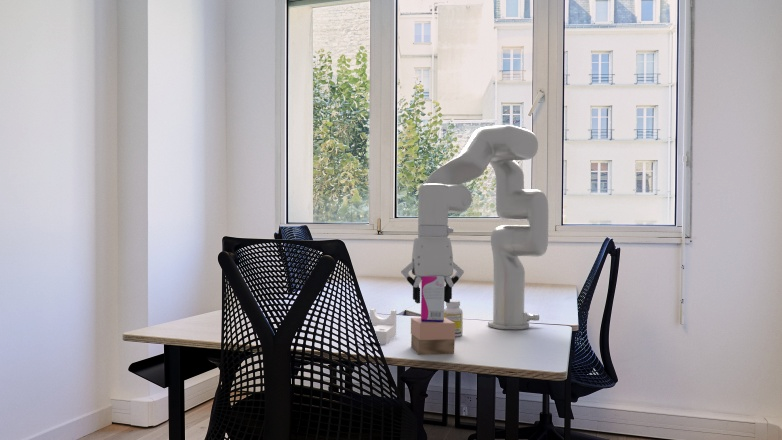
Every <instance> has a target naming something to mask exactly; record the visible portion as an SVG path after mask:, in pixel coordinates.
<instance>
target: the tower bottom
mask: <svg viewBox="0 0 782 440" xmlns="http://www.w3.org/2000/svg"><path fill="white" fill-rule="evenodd" d="M410 335H411V339H410V340H411V341H410V343H411V345H410V347H411V349H412V350H413V351H414V352H415V353H416V354H417V355H418V356H419V355H422V356H423V355H453V354H455V342H456V341H455V340H456V338H455V339H443V340H419V339H418V338H416V337H415V336H414V335H412V334H411V333H410Z"/></svg>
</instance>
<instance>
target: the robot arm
mask: <svg viewBox="0 0 782 440" xmlns="http://www.w3.org/2000/svg"><path fill="white" fill-rule="evenodd" d="M538 148H539V142H538V138H537V137H536V134H535V133H534V132H532V131H531V130H529V129H527V128H526V129H525V128H522V127H520V126H515V125H513V124H512V125H510V124H505V125H504V124H503V125H501V124H500V125H491V126H483V127H479V128H478V129H476V130H474V131H473V133H472V134H471V136H470V137H469V139H467V142H465V144H464V146H463V148H462V149H461V151H460V152H459V154H458V155H457V156H456V157H453V158H452V159H450V160H449V161H447V162H446V163H445V164H442V165H441V166H439V167H438V168H436V169H435V170H434V171H433V172H431V174H430V175H428V176H427V178H426V180H425V181H424V183H423V184H421V185H419V188H418V193H417V194H418V197H417V198H418V201H417V203H418V205H417V207H418V208H417V219H418V220H417V227H418V228H417V235H418V236H417V237H414V240H413V244H412V245H413V246H412V254H411V255H412V256H411V262H410V263H409V264H408V265H406V266H405V267H404V268H402V269H401V271H400V273H401V274H402V276H403V277H404V278H405V280H406V281H407V282H408V284H410V285H411V287H412V299H413V301H414V302H415V303H416V304H421V288H420V283H421V282H422V276H444V284H445V285H444V303H446V302H447V303H450V300H453V299H452V298H453V287H454V285H455V284H456V283H457V282H458V281H459V280H460V278H461V277H462V275H463V274H464V273H465V271H464V270H463V268H461V267H460V266H458V264H456V263H455V262H454V257H453V256H454V254H453V247H452V241H451V238H450V237H448V236H449V234H453V233H454V228H453V227H449V214H458V213H459V214H461V213H463V212H466V211H467V210H468V209H469V208H470V207H471V205H472V202H473V201H472V200H473V198H472V197H473V195H472V193H471V191H470V189H469V188H468V187H467V186H465V185H463V184H465V183H468V182H470V181H471V182H472V181H474V180H475V179H478V178H480V177H481V176H482V175H483V174H484V173H485V171H486V169H487V167H488V166H489V164H490V166H491V167H492V168H493V171H494V174H495V184H496V185H495V209H496V210H495V211H496V215H497V217H498V218H499V219H501V220H504V221H518V222H519V221H521V222H524V221H526V222H528V225H527V224H522V225H521V224H502V225H498V226H497V227H495V228H493V230H492V232H491V234H490V246H491V251H492V257H493V258H492V261H493V298H492V299H493V302H492V303H493V308H492V309H493V310H492V311H493V312H492V313H493V314H492V315H493V316H492V320H489V321H488V322H487V326H488V327H490V328H494V329H500V330H517V331H518V330H525V329H529V327H530V323H529V322H530V321H533V322H534V321H535V322H536V321H540V315H539V313H536V314H531V313H528V312H526V311H525V281H526V280H525V279H526V278H525V277H526V275H525V274H526V272H525V267H524V265H523V263H522V261H521V260H520V258H519V257H530V258H531V257H534V258H535V257H537V258H538V257H542V256H543V255H545V253H546V252H547V249H548V245H549V202H548V198H547V196H546V195H547V194H545V193H544V191H541V190H539V189H534V188H533V189H526V188H525V180H524V179H525V175H524V172H523V169H522V167H521V166H520V165H519V164H518V162H517V161H526V160H530V159H534V157H535V156H536V155H537V153H538V150H539V149H538ZM410 271H411V274H412V275H413V276H414V277H412V276H411V275H410V273H409V272H410ZM454 271H455V274H454ZM453 274H454V275H453Z"/></svg>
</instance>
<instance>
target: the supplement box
mask: <svg viewBox="0 0 782 440" xmlns="http://www.w3.org/2000/svg"><path fill="white" fill-rule="evenodd" d="M444 287H445V281H444V276H422V280H421V288H420V318H421V322H444V309H445V301H444Z"/></svg>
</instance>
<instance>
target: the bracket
mask: <svg viewBox="0 0 782 440" xmlns="http://www.w3.org/2000/svg"><path fill="white" fill-rule="evenodd" d="M376 309H377V308H370V310H369V320H370V319H371V321H372V324H373V327H374V329H375V332H376V335H377V338H378V340H379V342H380V344H379V345H387V344H388V343H389V342H390V341H392V339H394V338H395V337H396V336H395V335H397V309H391V312H390V314H389V316H388V317H381V316H379V314H378V313H377V310H376ZM394 336H395V337H394Z"/></svg>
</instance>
